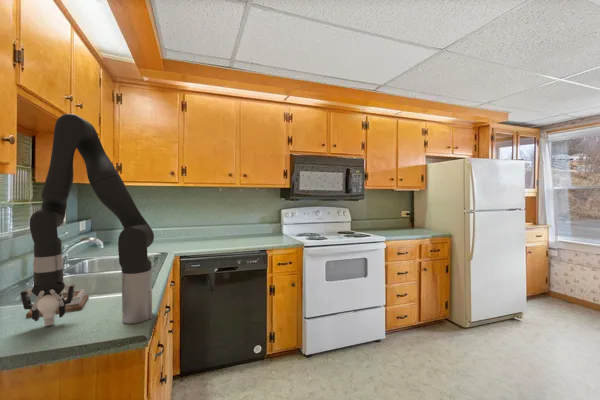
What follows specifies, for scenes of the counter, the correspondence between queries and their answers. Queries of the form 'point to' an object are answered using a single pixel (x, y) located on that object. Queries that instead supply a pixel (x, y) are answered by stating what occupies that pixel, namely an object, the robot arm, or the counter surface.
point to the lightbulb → (48, 308)
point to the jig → (75, 304)
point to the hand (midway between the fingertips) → (49, 318)
